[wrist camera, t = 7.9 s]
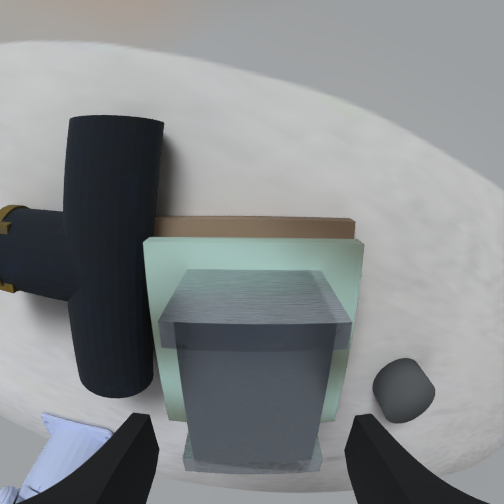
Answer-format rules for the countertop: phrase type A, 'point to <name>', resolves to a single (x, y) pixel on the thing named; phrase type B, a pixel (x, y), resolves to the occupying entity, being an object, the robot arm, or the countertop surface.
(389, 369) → the knob
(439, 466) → the countertop surface
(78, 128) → the pipe connector
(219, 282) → the housing
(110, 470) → the robot arm
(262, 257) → the stand
